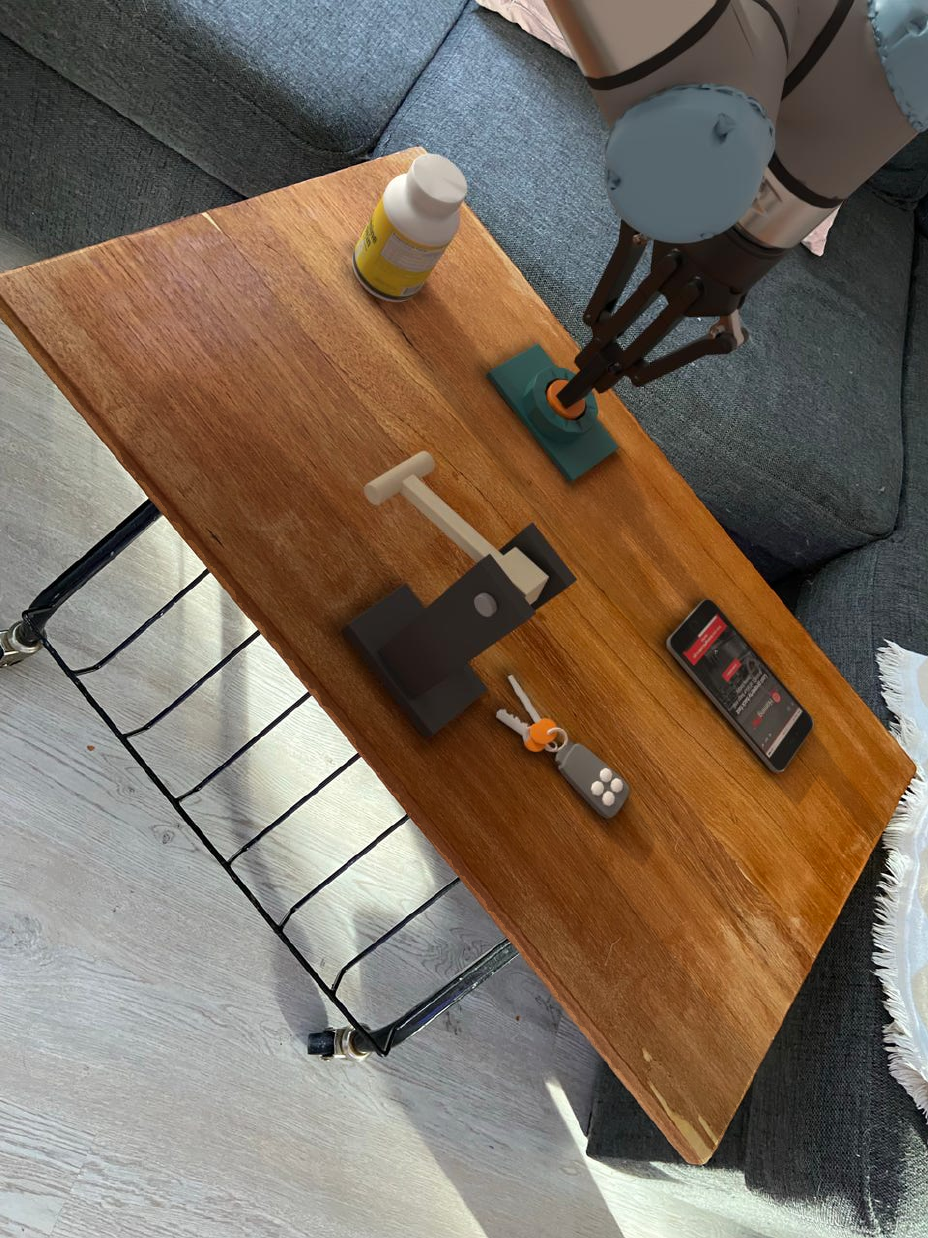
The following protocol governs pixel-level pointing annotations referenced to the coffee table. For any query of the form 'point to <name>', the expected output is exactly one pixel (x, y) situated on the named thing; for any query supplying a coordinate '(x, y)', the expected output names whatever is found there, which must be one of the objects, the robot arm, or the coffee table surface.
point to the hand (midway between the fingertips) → (570, 396)
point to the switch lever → (453, 522)
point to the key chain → (571, 760)
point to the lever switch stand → (450, 632)
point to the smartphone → (741, 685)
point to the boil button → (557, 405)
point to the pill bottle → (410, 229)
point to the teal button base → (552, 413)
